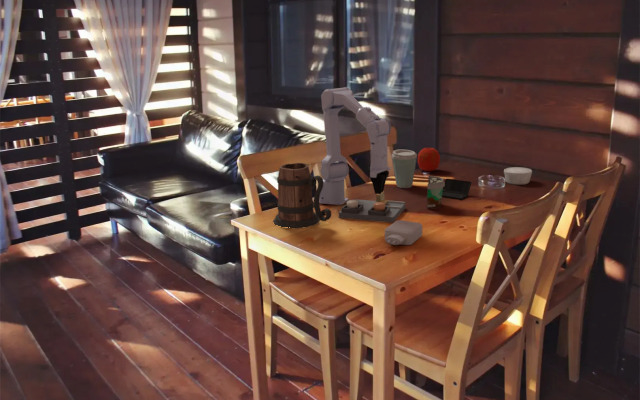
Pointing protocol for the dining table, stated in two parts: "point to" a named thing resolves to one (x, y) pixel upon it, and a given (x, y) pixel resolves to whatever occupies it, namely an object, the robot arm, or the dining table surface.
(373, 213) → the control panel
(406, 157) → the disposable coffee cup
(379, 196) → the tall mustard sponge block
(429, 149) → the apple
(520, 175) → the ramekin
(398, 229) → the grey plastic bottle
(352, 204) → the cream button
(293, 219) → the tankard
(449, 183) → the handheld gaming console
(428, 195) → the food container
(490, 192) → the dining table surface
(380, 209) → the terracotta button
